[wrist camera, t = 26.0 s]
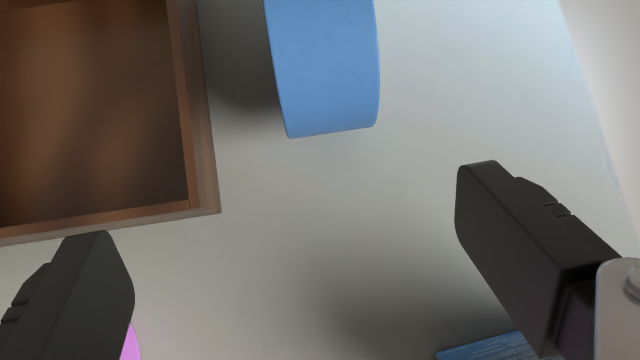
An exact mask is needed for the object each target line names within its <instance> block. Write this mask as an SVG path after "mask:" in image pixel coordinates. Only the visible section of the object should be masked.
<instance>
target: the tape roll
mask: <svg viewBox="0 0 640 360" xmlns="http://www.w3.org/2000/svg"><path fill="white" fill-rule="evenodd" d="M262 2H263V8H264V15H265V22H266V28H267V34H268V41H269V47H270V53H271V59H272V64H273V70H274V76H275V81H276V87H277V92H278V97H279V102H280V107H281V112H282V117H283V122H284V126H285V130H286V134H287V136H288V138H289V139H292V138H299V137H306V136H313V135H319V134H326V133H333V132H339V131H346V130H353V129H359V128H366V127H371V126H373V125H374V124H375V122H376V119H377V114H378V107H379V91H380V73H379V52H378V39H377V28H376V19H375V11H374V4H373V0H262Z"/></svg>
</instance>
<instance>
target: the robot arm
mask: <svg viewBox="0 0 640 360" xmlns="http://www.w3.org/2000/svg"><path fill="white" fill-rule="evenodd" d="M454 222H455V229H456V234H457V237H458V239H459V242H460V244H461V245H462V247H463V248H464V250H465V251H466V253H467V254H468V256H469V257H470V259H471V260H472V262H473V263H474V265H475V266H476V267H477V269H478V270H479V272H480V273H481V275H482V276H483V278H484V279H485V281H486V282H487V284H488V285H489V287H490V288H491V289H492V291H493V292H494V294H495V295H496V297H497V298H498V300H499V301H500V303H501V304H502V306H503V307H504V309H505V310H506V311H507V313H508V314H509V316H510V317H511V319H512V320H513V322H514V323H515V325H516V326H517V328H518V329H519V331H520V332H521V333H522V335H523V336H524V338H525V339H526V341H527V342H528V344H529V345H530V347H531V348H532V350H533V351H534V352H535V354H536V355H537V357H538V358H539V360H540V359H544V358H549V357H553V356H558V355H562V356H563V358H564V359H565V360H640V259H639V258H628V257H627V258H623V257H622V256H620V255H619V254H618V253H617V252H616V251H615V250H614V249H612V248H611V247H610V246H609V245H608V244H607V243H606V242H604V241H603V240H602V239H601V238H600V237H599V236H598V235H597V234H595V233H594V232H593V231H592V230H591V229H590V228H589V227H587V226H586V225H585V224H584V223H583V222H582V221H581V220H579V219H578V218H577V217H576V216H575V215H571V212H570V211H569V210H568V209H567V208H566V207H565V206H563V205H562V204H561V203H559V204H558V200H557V199H555V198H554V197H553V196H552V195H551V194H550V193H549V192H548V191H546V190H545V189H544V188H543V187H542V186H539V185H537V184H535V183H533V182H531V181H529V180H526V179H524V178H522V177H515V178H514V177H513V176H512V175H511V174H510V173H509V172H508V171H506V170H505V169H504V168H503V167H502V166H501V165H500V164H499V163H498V162H497V161H495V160H489V161H484V162H478V163H473V164H467V165H462V166H460V167H459V169H458V172H457V184H456V201H455V217H454ZM11 305H12V306H11V307H10V308H8V309H7V311H6V313H5V314H4V316H3V318H2V319H1V325H0V360H120V357H121V353H122V349H123V346H124V342H125V339H126V335H127V331H128V328H129V324H130V321H131V317H132V313H133V310H134V305H135V293H134V287H133V283H132V280H131V278H130V276H129V274H128V271H127V269H126V267H125V265H124V263H123V261H122V259H121V256H120V254H119V252H118V250H117V248H116V246H115V244H114V242H113V239H112V237H111V236H110V234H109V233H108V232H107V231H105V230H99V231H93V232H88V233H82V234H77V235H71V236H67V237H66V238H65V239H64V240H63V241H62V243H61V245H60V247H59V248H58V250H57V252H56V254H55V256H54V257H53V259H52V261H51V263H46V264H43V265H42V266H41V267H40V268H39V269H38V270H37V271H36V272H35V273H34V274H33V275H32V276H31V277H29V278H28V279H27V280H26V281H25V282H24V283H23V285H22V286H21V288H20V290H19V291H18V293H17V295H16V296H15V298H14V300H13V301H12V303H11Z"/></svg>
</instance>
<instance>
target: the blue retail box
mask: <svg viewBox="0 0 640 360" xmlns="http://www.w3.org/2000/svg"><path fill="white" fill-rule="evenodd" d="M435 358H436V360H539V358H538V357H537V355H536V354H535V352H534V351H533V350H532V348H531V347H530V345H529V344H528V342H527V341H526V339H525V338H524V336H523V335H522V333H521V332H520V331H519V330H518V331H514V332H510V333H506V334H503V335H499V336H495V337H491V338H488V339H484V340H480V341H477V342H473V343H469V344H466V345H462V346H458V347H454V348H451V349H447V350H444V351H441V352H438V353H435ZM540 360H565V359H564V358H563V356H562V355H558V356H553V357H549V358H544V359H540Z"/></svg>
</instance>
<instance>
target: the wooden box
mask: <svg viewBox="0 0 640 360" xmlns="http://www.w3.org/2000/svg"><path fill="white" fill-rule="evenodd" d="M219 213H222V210H221V202H220V194H219V186H218V178H217V170H216V162H215V154H214V146H213V138H212V130H211V121H210V113H209V105H208V97H207V89H206V81H205V73H204V65H203V57H202V49H201V41H200V33H199V25H198V17H197V9H196V1H195V0H0V247H3V246H10V245H16V244H23V243H29V242H36V241H42V240H49V239H55V238H62V237H67V236H71V235H77V234H82V233H88V232H93V231H99V230H105V231H108V230H114V229H121V228H127V227H134V226H140V225H147V224H153V223H160V222H166V221H173V220H180V219H186V218H193V217H199V216H206V215H212V214H219Z"/></svg>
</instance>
